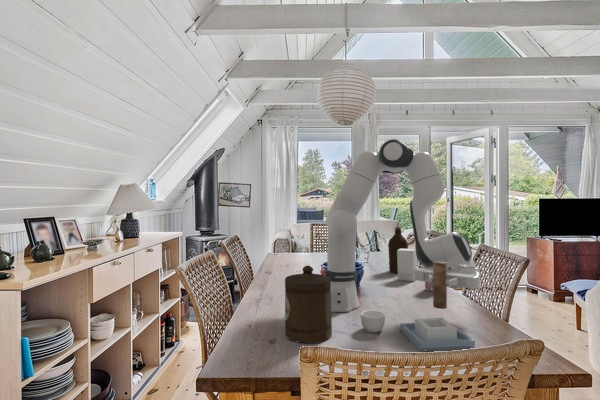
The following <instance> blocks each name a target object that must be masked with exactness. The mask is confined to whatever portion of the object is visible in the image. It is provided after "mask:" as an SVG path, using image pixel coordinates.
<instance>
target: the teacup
mask: <svg viewBox="0 0 600 400" xmlns="http://www.w3.org/2000/svg"><path fill="white" fill-rule="evenodd" d="M385 319H386V316H385V313H384V312H383V311H380V310H374V309H368V310H363V311H362V312H361V313H360V321H361V322H360V323H361V325H362V328H363V329H364V330H365V331H366V332H368V333H371V334H374V333H375V334H376V333H379V332H381V331H382V330H383V329H384V328H385V321H386V320H385Z"/></svg>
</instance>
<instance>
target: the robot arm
mask: <svg viewBox="0 0 600 400" xmlns="http://www.w3.org/2000/svg"><path fill="white" fill-rule="evenodd" d="M413 150H414V149H412V148H411V147H410V146H408V145H407V144H405V142H403V141H401V140H399V139H395V138H394V139H392V138H391V139H389V140H386V141H385V142H384V143H383V144H381V147H380V149H379V152H375V151H372V150H364V151H362V152H361V153H360V154H359V155H358V156H357V158H356V159H355V161H354V162H353V164H352V166H351V167H350V170H349V171H348V174H347V176H346V178H345V180H344V183H343V184H342V187H341V188H340V190H339V192H338V194H337V196H336V197H335V199H334V201H333V203H332V205H331V207H330V209H329V210H328V212H327V215H326V218H325V221H326V222H325V223H326V226H327V229H328V230H327V231H328V232H327V235H328V236H327V251H326V253H327V258H326V260H327V264H326V265H327V266H326V267H327V269H325V270H324V269H323V268H321V269H320V270H319V273H320V274H321V275H325V276H328V277H330V281H331V288H330V289H331V312H332V313H334V312H336V313H337V312H338V313H348V312H351V310H354V309H358V307H360V302H359V298H358V294H357V293H358V292H357V291H358V290H357V285H356V284H357V270H356V246H357V245H356V243H357V234H358V232H357V231H358V220H357V217H358V214H359V213H360V211H361V210H362V208H363V206H364V205H365V203H366V202H367V200H368V199H369V196H370V195H371V192H372V190H373V187H374V186H375V184H376V181H377V179H378V177H379V176H380V174H381V173H383V174H392V175H397V174H402V173H403V172H405V173H406V174H407V175H408V177H409V180H410V182H411V185H412V190H413V192H412V193H413V194H412V199H411V200H410V202H409V213H410V219H411V220H410V221H411V226H412V231H413V238H414V243H415V245H414V246H415V248H414V249H416V260H417V261H418V262H419V263H420V264H421V265H423V266H424V267H419V268H416V270H415V279H416V280H415V281H419V282H424V283H425V282H428V283H432V284H433V268H429V267H433V262H446V263H447V280H446V281H445V282H446V284H445V285H446V286H447V288H450V289H457V288H460V289H461V288H467V289H472V290H479V289H480V287H481V273H480V272H481V271H480V268H479V267H476V263H475V262H474V260H473V259H472V255H473V251H472V247H471V245H470V243H469V241H468V239H467V238H466V237H465V236H464V235H462V234H461V233H460V232H458V231H452V232H448V233H445V234H442V235H440V236H439V235H438V236H435V237H433V238H429V236H428V231H427V226H426V220H425V218H426V214H427V212H428V211H429V210H430V209H431V208H432V207H433V206H434V205H436V203H438V202H439V201H440V200H441V198H442V197H443V195H444V193H445V191H446V189H445V182H444V180H443V176H442V174H441V171H440V169H439V167H438V165H437V163H436V161H435V160H434V157H433V156H432V154H431V153H429V152H426V151H418V152H415V153H414V151H413ZM425 266H427V267H425Z"/></svg>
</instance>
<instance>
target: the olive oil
mask: <svg viewBox="0 0 600 400" xmlns="http://www.w3.org/2000/svg"><path fill="white" fill-rule="evenodd" d="M408 243H409V242H408V241H407V239H406V238H405V237H404V236H403V235H402V227H399V226H396V227H394V234H393V236H392V237H391V238H390V239H389V240H388V243H387V244H388V246H387V247H388V249H387V250H388V268H389V269H388V270H389V273H391V274H396V273H397V275H398V264H397V250H399V249H401V248H402V249H409V244H408Z"/></svg>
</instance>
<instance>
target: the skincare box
mask: <svg viewBox="0 0 600 400" xmlns="http://www.w3.org/2000/svg"><path fill="white" fill-rule="evenodd" d="M397 264H398V274H397V280H398V281H405V282H415V281H417V280H416V279H415V270H416V269H417V256H416V248H408V249H402V248H401V249H399V250H397Z"/></svg>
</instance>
